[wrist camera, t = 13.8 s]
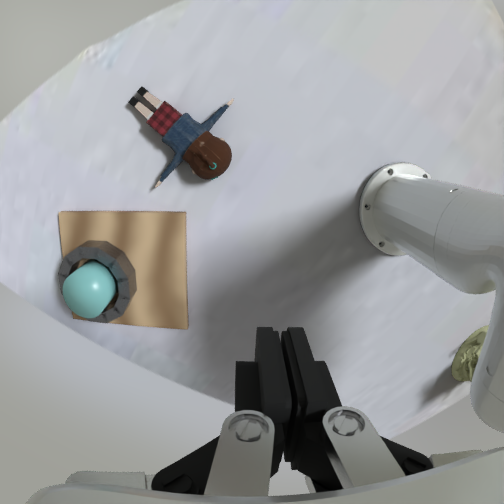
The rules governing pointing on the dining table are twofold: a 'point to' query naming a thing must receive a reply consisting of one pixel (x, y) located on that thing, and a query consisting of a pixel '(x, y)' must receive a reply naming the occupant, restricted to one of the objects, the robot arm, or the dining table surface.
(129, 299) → the faceted gray ring
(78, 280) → the teal rounded tetrahedron
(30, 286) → the dining table surface
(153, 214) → the board
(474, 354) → the figurine
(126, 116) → the dining table surface
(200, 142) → the toy
